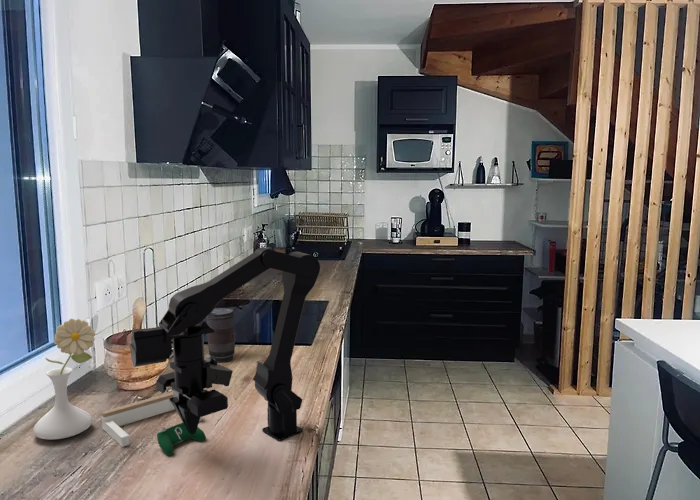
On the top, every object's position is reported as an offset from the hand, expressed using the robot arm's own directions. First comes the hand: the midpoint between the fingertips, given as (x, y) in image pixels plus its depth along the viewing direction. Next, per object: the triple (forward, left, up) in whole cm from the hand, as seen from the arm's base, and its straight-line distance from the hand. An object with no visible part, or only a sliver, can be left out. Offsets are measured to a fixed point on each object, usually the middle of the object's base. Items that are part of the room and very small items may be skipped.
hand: (192, 433), depth 107 cm
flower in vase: (+28, +15, -5) cm, 32 cm away
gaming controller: (+6, 0, -5) cm, 8 cm away
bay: (+18, 0, -5) cm, 19 cm away
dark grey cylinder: (+48, -34, -5) cm, 59 cm away
